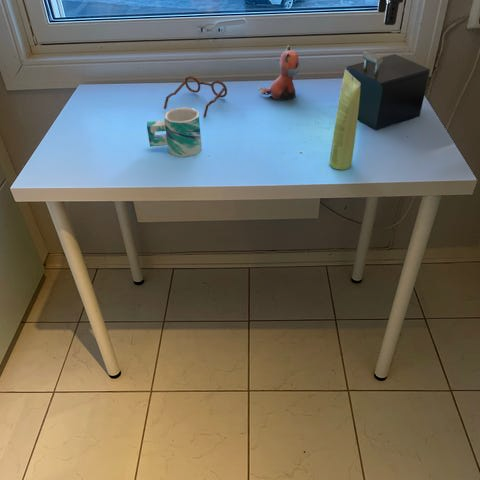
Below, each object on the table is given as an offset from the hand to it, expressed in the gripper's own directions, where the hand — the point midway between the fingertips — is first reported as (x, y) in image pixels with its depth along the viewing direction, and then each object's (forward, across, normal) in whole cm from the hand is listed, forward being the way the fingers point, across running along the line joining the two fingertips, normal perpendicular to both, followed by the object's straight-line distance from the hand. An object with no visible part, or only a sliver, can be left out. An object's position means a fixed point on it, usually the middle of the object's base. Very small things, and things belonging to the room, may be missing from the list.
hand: (385, 18), depth 108 cm
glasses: (+27, +20, +44) cm, 55 cm away
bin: (+26, +13, -6) cm, 30 cm away
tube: (+26, -13, +8) cm, 30 cm away
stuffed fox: (+27, +26, +21) cm, 42 cm away
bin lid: (+15, +13, -5) cm, 21 cm away
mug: (+27, -5, +46) cm, 53 cm away
